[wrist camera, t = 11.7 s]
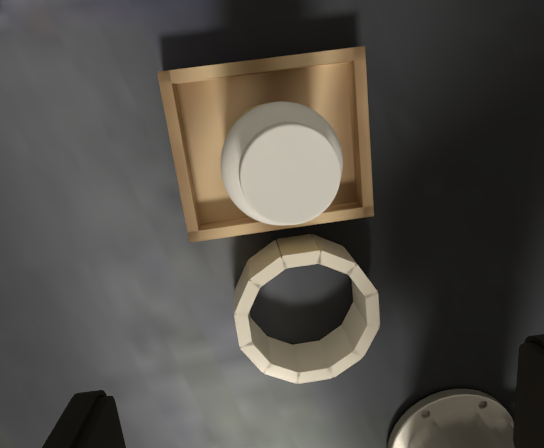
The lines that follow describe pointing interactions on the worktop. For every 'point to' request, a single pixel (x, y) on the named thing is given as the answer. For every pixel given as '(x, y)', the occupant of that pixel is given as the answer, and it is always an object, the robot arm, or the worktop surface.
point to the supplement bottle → (281, 163)
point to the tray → (248, 93)
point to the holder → (318, 354)
